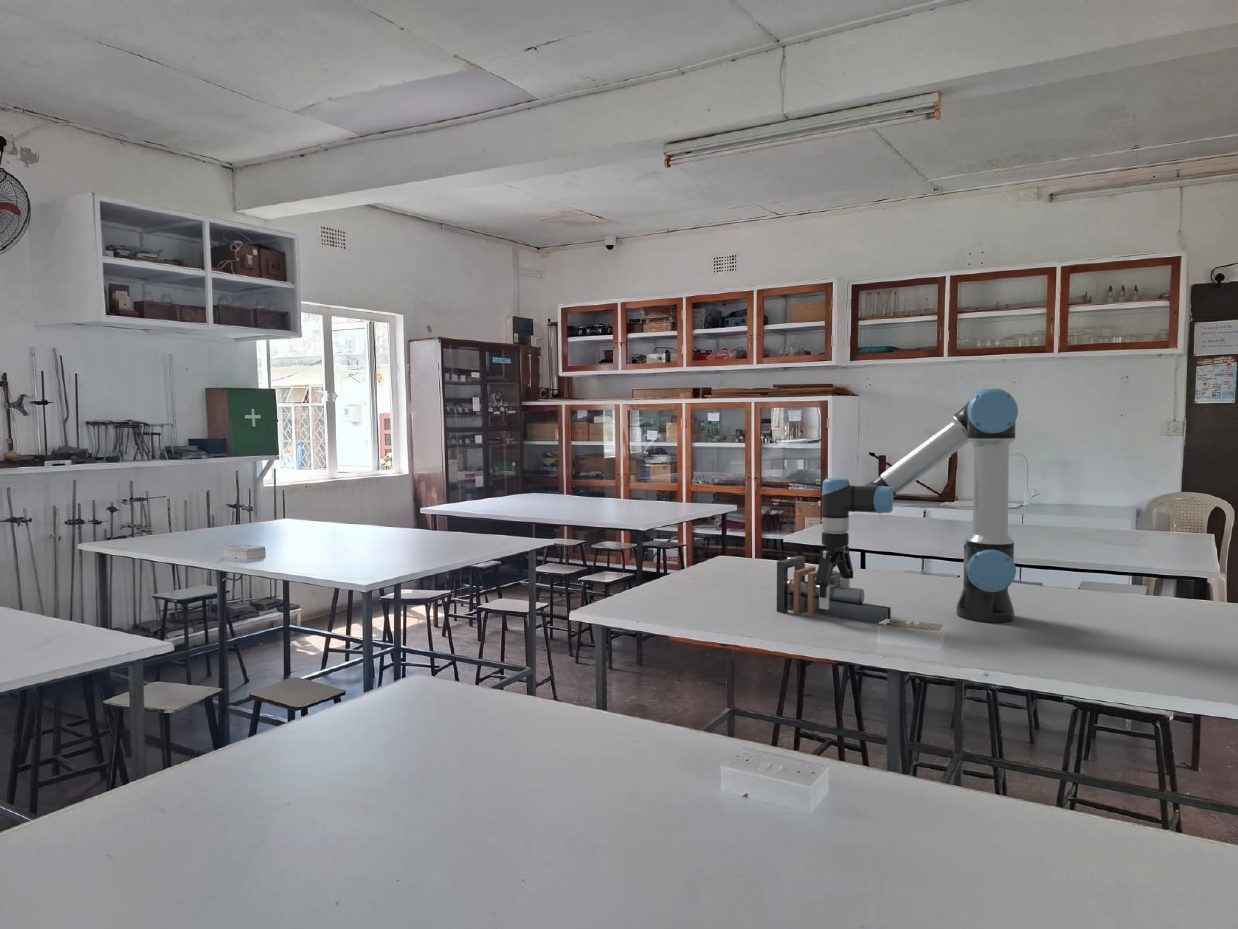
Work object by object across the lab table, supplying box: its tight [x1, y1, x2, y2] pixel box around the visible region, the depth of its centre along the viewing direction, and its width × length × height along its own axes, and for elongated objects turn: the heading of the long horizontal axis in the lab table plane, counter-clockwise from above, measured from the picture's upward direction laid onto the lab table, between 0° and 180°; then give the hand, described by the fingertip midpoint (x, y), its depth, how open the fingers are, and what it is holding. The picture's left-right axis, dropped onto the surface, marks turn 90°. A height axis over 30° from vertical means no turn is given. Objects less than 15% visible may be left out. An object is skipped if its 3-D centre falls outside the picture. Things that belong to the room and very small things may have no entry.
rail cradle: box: [788, 594, 892, 624], centre depth 230 cm, size 32×3×4 cm, turn 50°
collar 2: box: [807, 569, 829, 618], centre depth 233 cm, size 2×11×12 cm, turn 140°
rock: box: [829, 570, 843, 586], centre depth 250 cm, size 12×9×10 cm
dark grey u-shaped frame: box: [776, 555, 806, 614], centre depth 239 cm, size 2×13×15 cm, turn 140°
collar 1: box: [793, 565, 817, 615], centre depth 236 cm, size 2×11×12 cm, turn 140°
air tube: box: [788, 578, 865, 605], centre depth 232 cm, size 24×4×4 cm, turn 50°
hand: (834, 604), depth 230 cm, fingers open, 13 cm apart
